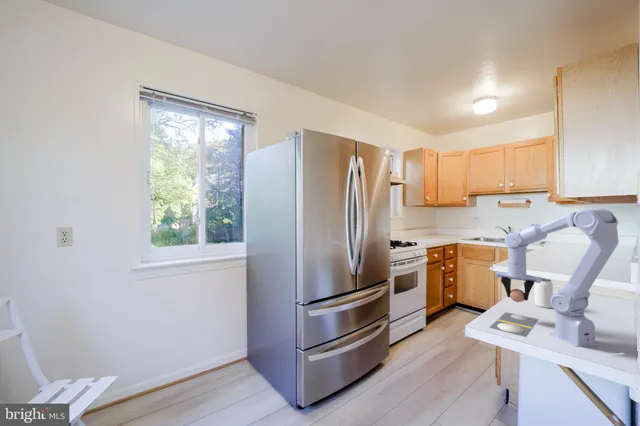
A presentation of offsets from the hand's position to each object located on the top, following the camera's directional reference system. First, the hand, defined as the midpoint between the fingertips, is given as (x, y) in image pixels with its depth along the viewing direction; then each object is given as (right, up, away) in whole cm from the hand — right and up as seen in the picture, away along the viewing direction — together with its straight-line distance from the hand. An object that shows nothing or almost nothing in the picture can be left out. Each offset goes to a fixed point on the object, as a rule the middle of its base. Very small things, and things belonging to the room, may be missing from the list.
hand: (517, 298), depth 109 cm
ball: (0, +1, 0) cm, 1 cm away
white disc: (-8, -9, -8) cm, 14 cm away
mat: (-3, -9, -3) cm, 10 cm away
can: (+23, -9, +16) cm, 30 cm away
